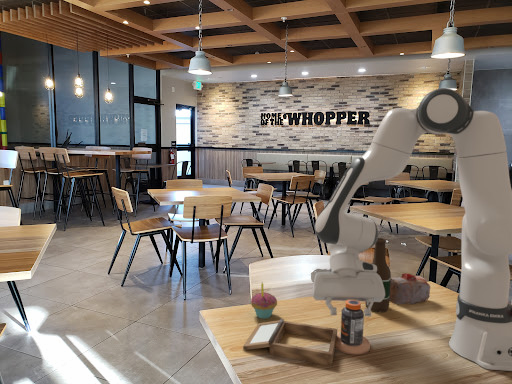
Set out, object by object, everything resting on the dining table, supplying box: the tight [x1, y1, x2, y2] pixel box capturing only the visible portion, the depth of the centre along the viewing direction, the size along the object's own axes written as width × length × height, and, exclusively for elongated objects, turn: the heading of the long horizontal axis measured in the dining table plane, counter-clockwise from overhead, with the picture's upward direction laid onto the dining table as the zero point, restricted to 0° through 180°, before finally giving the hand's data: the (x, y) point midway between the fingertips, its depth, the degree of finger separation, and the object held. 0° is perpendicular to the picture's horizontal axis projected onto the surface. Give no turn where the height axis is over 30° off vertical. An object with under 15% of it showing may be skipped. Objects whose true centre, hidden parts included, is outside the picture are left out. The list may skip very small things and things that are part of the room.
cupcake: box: [250, 282, 278, 320], centre depth 121 cm, size 9×8×12 cm
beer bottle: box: [364, 237, 392, 313], centre depth 127 cm, size 8×8×24 cm
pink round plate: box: [335, 332, 371, 356], centre depth 104 cm, size 10×10×1 cm
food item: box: [389, 273, 431, 305], centre depth 135 cm, size 14×8×10 cm, turn 107°
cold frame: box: [268, 318, 338, 367], centre depth 103 cm, size 16×14×4 cm
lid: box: [242, 319, 280, 351], centre depth 106 cm, size 7×14×3 cm, turn 163°
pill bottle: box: [340, 300, 365, 346], centre depth 104 cm, size 6×6×11 cm
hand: (350, 315), depth 105 cm, fingers open, 8 cm apart
